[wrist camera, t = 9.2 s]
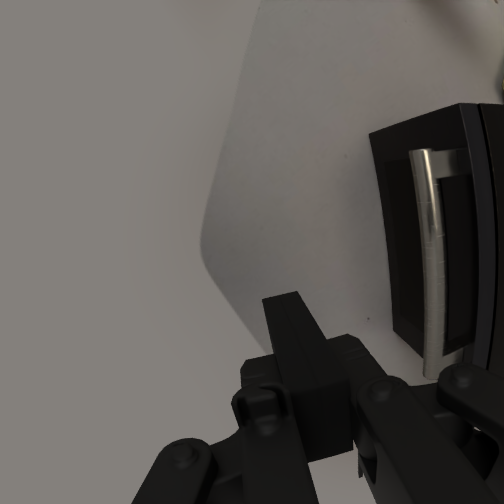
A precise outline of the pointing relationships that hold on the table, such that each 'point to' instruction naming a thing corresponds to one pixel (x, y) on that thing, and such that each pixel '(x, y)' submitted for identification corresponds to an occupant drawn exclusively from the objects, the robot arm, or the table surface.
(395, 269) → the oven door
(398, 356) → the table surface
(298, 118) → the table surface
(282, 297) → the robot arm
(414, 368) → the table surface
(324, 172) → the table surface
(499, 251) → the oven
